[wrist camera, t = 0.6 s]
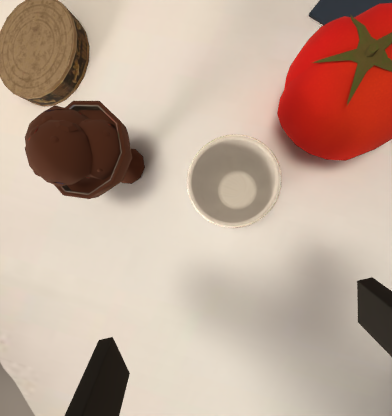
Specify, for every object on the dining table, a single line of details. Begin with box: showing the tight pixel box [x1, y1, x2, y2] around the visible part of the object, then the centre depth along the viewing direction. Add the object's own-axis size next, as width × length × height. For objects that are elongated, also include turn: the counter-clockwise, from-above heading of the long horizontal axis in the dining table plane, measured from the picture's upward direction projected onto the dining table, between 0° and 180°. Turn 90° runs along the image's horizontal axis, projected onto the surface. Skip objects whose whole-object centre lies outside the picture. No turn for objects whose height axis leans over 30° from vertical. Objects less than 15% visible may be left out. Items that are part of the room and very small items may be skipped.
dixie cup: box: [187, 135, 281, 228], centre depth 23 cm, size 8×8×10 cm
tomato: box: [277, 3, 392, 160], centre depth 20 cm, size 13×12×11 cm
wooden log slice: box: [0, 0, 89, 106], centre depth 34 cm, size 16×16×3 cm
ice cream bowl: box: [25, 101, 145, 199], centre depth 25 cm, size 11×11×15 cm
